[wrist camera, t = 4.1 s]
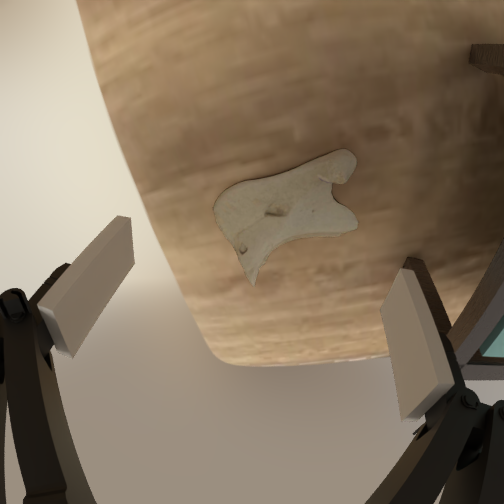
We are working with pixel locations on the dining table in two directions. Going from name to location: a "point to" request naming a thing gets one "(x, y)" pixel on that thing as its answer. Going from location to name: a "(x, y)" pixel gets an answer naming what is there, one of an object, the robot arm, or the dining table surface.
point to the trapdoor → (494, 341)
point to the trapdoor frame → (489, 289)
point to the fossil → (285, 209)
